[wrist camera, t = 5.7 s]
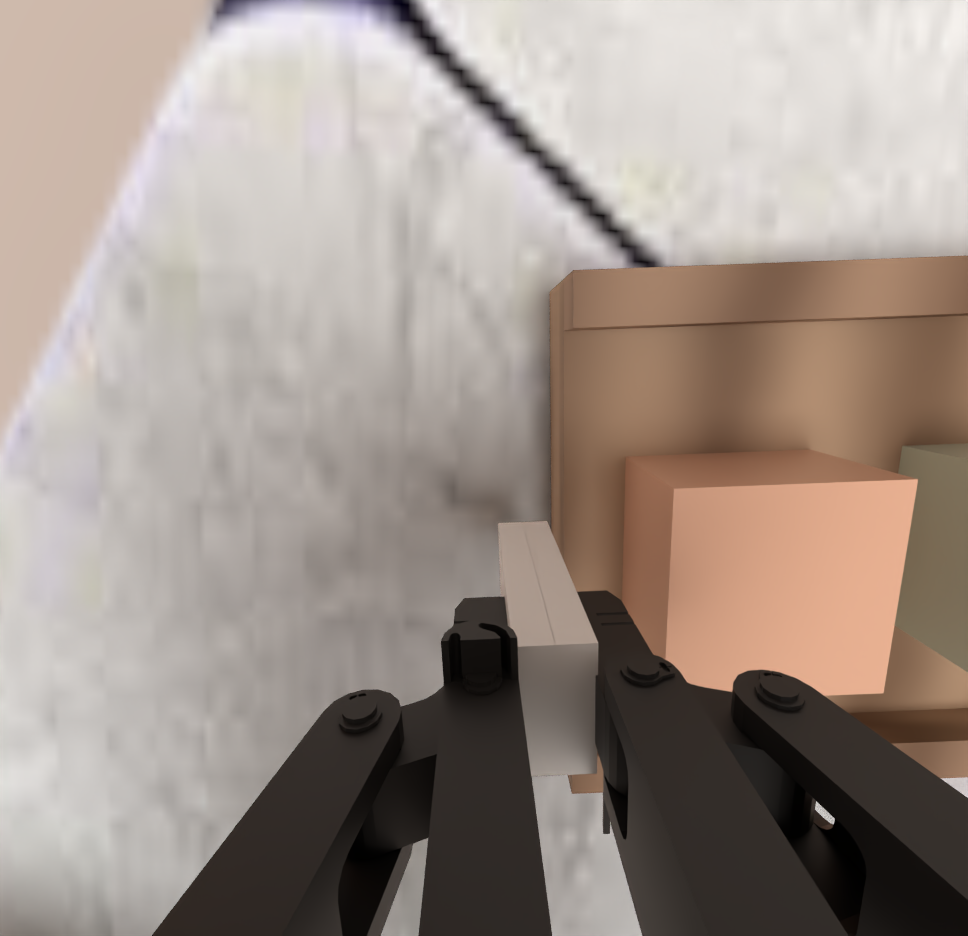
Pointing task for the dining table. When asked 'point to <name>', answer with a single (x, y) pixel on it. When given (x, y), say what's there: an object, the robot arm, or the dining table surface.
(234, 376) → the dining table surface
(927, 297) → the wooden tray
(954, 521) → the tile
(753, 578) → the tile
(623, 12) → the dining table surface
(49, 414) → the dining table surface
